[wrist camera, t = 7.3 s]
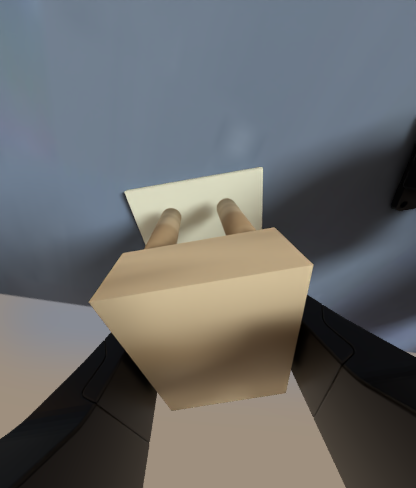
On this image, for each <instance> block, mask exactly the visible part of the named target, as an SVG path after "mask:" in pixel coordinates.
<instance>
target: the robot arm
mask: <svg viewBox="0 0 416 488" xmlns="http://www.w3.org/2000/svg"><path fill="white" fill-rule="evenodd" d="M391 208H392V209H394V210H397V211H403V210H409V209H415V208H416V147H415V150H414V152H413V154H412V157H411V159H410V162H409V164H408V166H407V169H406V171H405V173H404V176H403V178H402V181H401V183H400V185H399V188H398V190H397V192H396V195H395V197H394V200H393V202H392V205H391ZM291 371H292V372H293V375H294V377H295V379H296V381H297V383H298V386H299V388H300V390H301V392H302V394H303V396H304V398H305V401H306V403H307V405H308V407H309V409H310V411H311V414H312V416H313V417H314V420H315V422H316V424H317V427H318V429H319V431H320V433H321V435H322V437H323V439H324V441H325V443H326V446H327V448H328V450H329V452H330V454H331V457H332V459H333V461H334V463H335V465H336V467H337V469H338V472H339V474H340V476H341V478H342V480H343V482H344V484H345V487H346V488H416V357H414V356H412V355H410V354H409V353H407V352H405V351H403V350H401V349H399V348H398V347H396V346H394V345H392V344H390V343H388V342H387V341H385V340H383V339H381V338H379V337H377V336H376V335H374V334H372V333H370V332H368V331H366V330H365V329H363V328H361V327H359V326H357V325H356V324H354V323H352V322H350V321H349V320H347V319H345V318H343V317H342V316H340V315H339V314H337V313H335V312H334V311H332V310H330V309H329V308H327V307H326V306H324V305H322V304H321V303H319V302H318V301H316V300H315V299H313V298H311V297H310V296H308V295H307V297H306V302H305V306H304V311H303V316H302V320H301V325H300V329H299V334H298V339H297V343H296V348H295V353H294V357H293V362H292V366H291ZM156 397H157V391H156V390H155V388H154V387H153V386H152V384H151V383H150V382H149V381H148V379H147V378H146V377H145V375H144V374H143V373H142V371H141V370H140V369H139V367H138V366H137V365H136V364H135V362H134V361H133V360H132V358H131V357H130V356H129V354H128V353H127V352H126V351H125V349H124V348H123V347H122V345H121V344H120V343H119V341H118V340H117V339H116V337H115V336H114V335H113V334H112V332H111V333H110V334H109V335H108V337H106V339H105V341H103V342H102V343H101V344H100V345H99V346H98V347H97V348H96V350H95V351H94V352H93V353H92V354H91V355H90V356H89V357H88V358H87V359H86V360H85V361H84V363H82V364H81V365H80V367H78V368H77V369H76V370H75V371H74V372H73V373H72V374H71V375H70V376H69V377H68V378H67V380H65V381H64V382H63V383H62V384H61V385H60V386H59V387H58V388H57V389H56V390H55V391H54V392H53V393H52V394H51V395H50V396H49V397H48V398H47V399H46V400H45V401H44V402H43V403H42V404H41V405H40V406H39V407H38V408H37V409H36V410H35V411H34V412H33V413H32V414H31V415H30V416H29V417H28V418H26V419H25V420H24V421H23V422H22V423H21V424H20V425H18V426H17V427H16V428H15V429H13V430H12V431H11V432H10V433H8V434H7V435H5V436H4V437H2V438H1V439H0V488H143V483H144V476H145V470H146V463H147V457H148V450H149V442H150V436H151V430H152V423H153V417H154V410H155V403H156Z"/></svg>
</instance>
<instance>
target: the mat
mask: <svg viewBox="0 0 416 488" xmlns="http://www.w3.org/2000/svg"><path fill="white" fill-rule="evenodd" d="M125 195H126V197H127V200H128V202H129V205H130V207H131V210H132V212H133V215H134V217H135V220H136V222H137V225H138V227H139V230H140V232H141V235H142V237H143V240H144V242H145V245H146V244H147V242H148V240H149V238H150V236H151V234H152V233H153V231H154V229H155V227H156V225H157V223H158V221H159V219H160V217H161V215H162V213H163V211H164V210H166V209H168V208H174V209H176V210H178V211H179V212H180V214H181V217H182V219H181V224H180V230H179V235H178V240H177V244H179V243H185V242H191V241H197V240H203V239H209V238H215V237H221V236H226V234H225V232H224V229H223V226H222V224H221V221H220V218H219V216H218V213H217V204H218V203H219V201H221V200H222V199H225V198H229V199H232V200H233V201H234V202H235V203H236V205H237V206H238V207H239V209H240V210H241V211H242V212H243V214H244V215H245V216H246V218H247V219H248V220H249V221H250V223H251V224H252V225H253V227H254V228H255V229H256V230H262V195H263V168H262V167H257V168H252V169H246V170H240V171H234V172H229V173H223V174H217V175H211V176H206V177H200V178H194V179H188V180H183V181H177V182H171V183H165V184H160V185H154V186H148V187H142V188H137V189H131V190H126V191H125Z"/></svg>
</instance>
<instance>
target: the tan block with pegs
mask: <svg viewBox="0 0 416 488" xmlns="http://www.w3.org/2000/svg"><path fill="white" fill-rule="evenodd" d="M217 213H218V216H219V218H220V221H221V224H222V226H223V229H224V232H225V234H226V236H221V237H215V238H209V239H203V240H197V241H191V242H185V243H179V244H177V240H178V235H179V230H180V224H181V219H182V217H181V214H180V212H179V211H178V210H176V209H174V208H168V209H166V210H164V211H163V213H162V215H161V217H160V219H159V221H158V223H157V225H156V227H155V229H154V231H153V233H152V234H151V236H150V238H149V240H148V242H147V244H146V246H145V248H144V250H138V251H132V252H126V253H123V254H122V255H121V256H120V258H119V259H118V261H117V262H116V264H115V265H114V266H113V268H112V269H111V271H110V272H109V274H108V275H107V277H106V278H105V279H104V281H103V282H102V284H101V285H100V287H99V288H98V289H97V291H96V292H95V294H94V295H93V297H92V298H91V299H90V301H89V303H90V305H91V306H92V307H93V309H94V310H95V311H96V313H97V314H98V315H99V316H100V318H101V319H102V320H103V322H104V323H105V324H106V325H107V327H108V328H109V330H110V331H111V332H112V334H113V335H114V336H115V337H116V339H117V340H118V341H119V343H120V344H121V345H122V347H123V348H124V349H125V351H126V352H127V353H128V354H129V356H130V357H131V358H132V360H133V361H134V362H135V364H136V365H137V366H138V367H139V369H140V370H141V371H142V373H143V374H144V375H145V377H146V378H147V379H148V381H149V382H150V383H151V384H152V386H153V387H154V388H155V390H156V391H157V392H158V394H159V395H160V396H161V397H162V399H163V400H164V401H165V403H166V404H167V405H168V407H169V408H170V409H171V410H172V411H174V410H180V409H186V408H193V407H199V406H205V405H212V404H218V403H225V402H231V401H238V400H244V399H250V398H257V397H263V396H270V395H277V394H282V393H286V390H287V385H288V380H289V375H290V371H291V366H292V362H293V357H294V353H295V348H296V343H297V339H298V334H299V329H300V325H301V320H302V316H303V311H304V306H305V302H306V297H307V292H308V288H309V283H310V279H311V274H312V269H313V264H312V263H311V262H310V261H309V260H308V259H307V258H306V257H305V256H304V255H303V254H302V253H301V252H300V251H299V250H298V249H296V248H295V247H294V246H293V245H292V244H291V243H290V242H289V241H288V240H287V239H286V238H285V237H284V236H283V235H282V234H281V233H280V232H279V231H278V230H277V229H276V228H275V227H273V228H268V229H262V230H256V229H255V228H254V227H253V225H252V224H251V223H250V221H249V220H248V219H247V218H246V216H245V215H244V214H243V212H242V211H241V210H240V209H239V207H238V206H237V205H236V203H235V202H234V201H233V200H232V199H229V198H225V199H222V200H221V201H219V203H218V204H217Z"/></svg>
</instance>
